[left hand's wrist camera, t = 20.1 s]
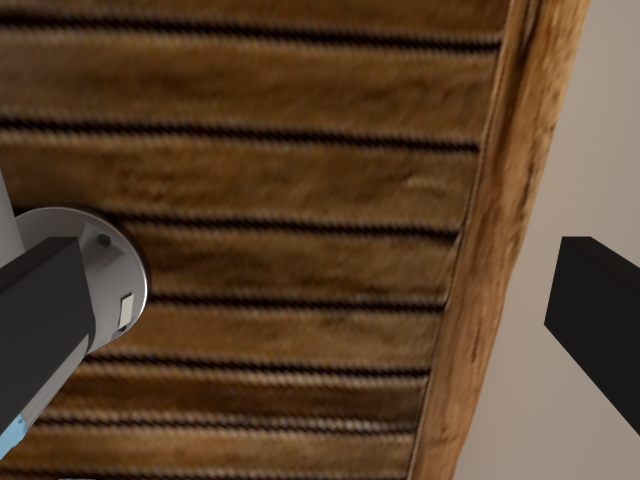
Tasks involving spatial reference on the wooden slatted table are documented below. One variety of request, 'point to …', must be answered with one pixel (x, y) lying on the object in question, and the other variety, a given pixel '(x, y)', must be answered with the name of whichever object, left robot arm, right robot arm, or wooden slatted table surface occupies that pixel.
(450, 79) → the wooden slatted table surface
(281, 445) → the wooden slatted table surface
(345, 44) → the wooden slatted table surface
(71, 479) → the fossil
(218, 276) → the wooden slatted table surface
